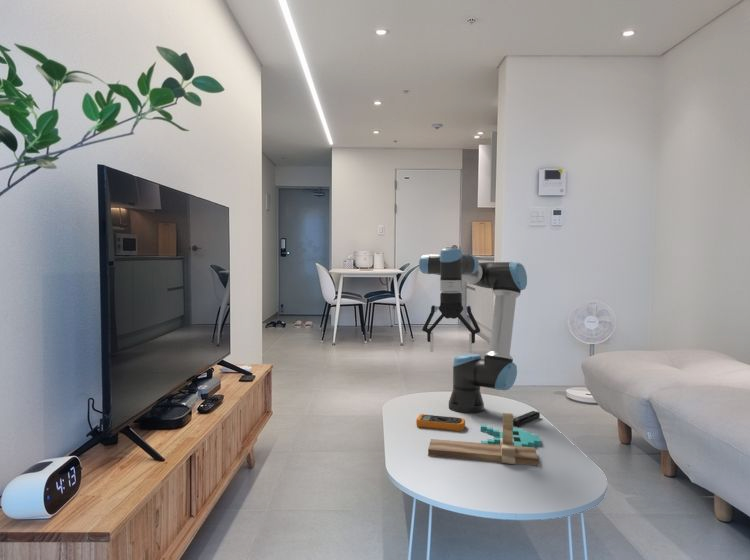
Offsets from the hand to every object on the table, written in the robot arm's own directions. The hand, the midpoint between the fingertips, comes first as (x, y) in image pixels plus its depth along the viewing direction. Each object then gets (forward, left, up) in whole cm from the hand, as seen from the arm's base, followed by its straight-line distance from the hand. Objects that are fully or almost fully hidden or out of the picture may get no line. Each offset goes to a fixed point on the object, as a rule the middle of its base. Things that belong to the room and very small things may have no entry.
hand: (451, 351), depth 176 cm
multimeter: (-13, -4, -31) cm, 34 cm away
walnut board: (+14, +11, -31) cm, 36 cm away
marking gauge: (+15, +19, -30) cm, 39 cm away
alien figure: (-2, +21, -32) cm, 38 cm away
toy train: (-27, +29, -31) cm, 51 cm away
